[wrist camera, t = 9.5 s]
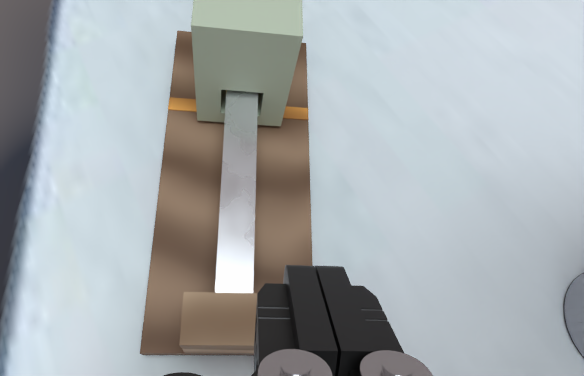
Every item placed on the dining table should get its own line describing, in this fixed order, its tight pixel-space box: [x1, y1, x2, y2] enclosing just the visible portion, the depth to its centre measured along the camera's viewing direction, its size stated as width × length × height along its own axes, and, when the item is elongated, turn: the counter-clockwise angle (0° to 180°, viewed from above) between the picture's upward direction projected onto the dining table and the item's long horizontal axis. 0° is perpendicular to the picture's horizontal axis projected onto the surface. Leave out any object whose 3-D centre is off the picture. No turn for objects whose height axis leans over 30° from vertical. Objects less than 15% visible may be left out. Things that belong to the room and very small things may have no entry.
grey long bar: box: [215, 90, 258, 293], centre depth 34 cm, size 23×2×2 cm, turn 1°
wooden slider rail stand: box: [140, 31, 312, 355], centre depth 36 cm, size 28×12×8 cm, turn 1°
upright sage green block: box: [191, 0, 303, 126], centre depth 35 cm, size 5×7×11 cm
